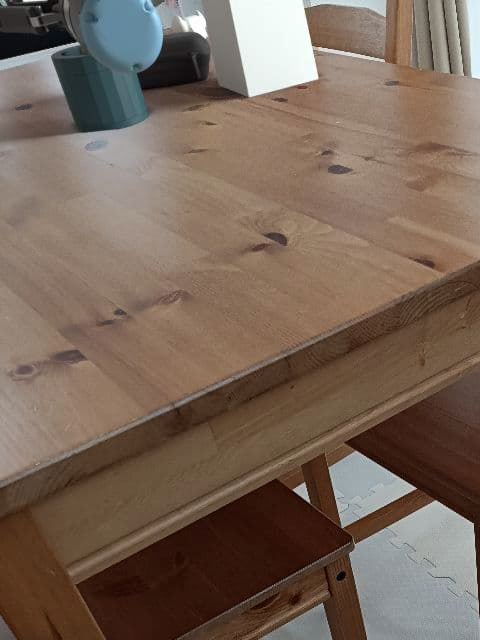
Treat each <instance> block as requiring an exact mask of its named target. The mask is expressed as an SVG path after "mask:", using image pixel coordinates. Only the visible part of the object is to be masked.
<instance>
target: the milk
mask: <svg viewBox="0 0 480 640" xmlns="http://www.w3.org/2000/svg"><path fill="white" fill-rule="evenodd" d="M201 3H202V9H203V14H204V19H205V21H206V28H207V35H208V39H209V45H210V50H211V55H212V59H213V63H214V68H215V74H216V78H217V84H218V86H219V87H222V88H224V89H227V90H229V91H232V92H234V93H237V94H239V95H242V96H245V97H247V98H252V97H256V96H260V95H263V94H268V93H271V92H275V91H279V90H283V89H287V88H291V87H293V86H298V85H303V84H305V83H309V82H313V81H317V80H319V74H318V67H317V64H316V60H315V59H316V58H315V54H314V50H313V44H312V40H311V35H310V30H309V25H308V20H307V16H306V11H305V6H304V1H303V0H201Z"/></svg>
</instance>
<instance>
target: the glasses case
mask: <svg viewBox="0 0 480 640" xmlns="http://www.w3.org/2000/svg"><path fill="white" fill-rule="evenodd" d="M211 55H212V49H211V44H210V42H209V41H208V40H207V38H206V39H205V38H204V37H203V36H202V35H201V34H199V33H196V32H179V33H173V32H167V33H163V41H162V47H161V50H160V53H159V55H158V57H157V58H156V60H155V61H154V63H153V64H152V65H151V66H149V67H148V68H147V69H145V70H143V71H141V72H138V73H137V77H138V80H139V83H140V87H141V90H145V89H146V90H147V89H154V88H160V87H169V86H174V85H183V84H191V83H197V82H202V81H205V80H207V79H208V77H209V74H210V62H211Z"/></svg>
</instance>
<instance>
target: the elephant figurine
mask: <svg viewBox="0 0 480 640" xmlns="http://www.w3.org/2000/svg"><path fill="white" fill-rule="evenodd" d="M170 28H171V31H172V33H179V32H196V33H199V34H201V35H202V36H203V37H204V38H205V39H206V40H207V38H209V35H208V32H207V31H206V28H207V24H206V19H205V16H203V14H202V13H201V12H200V11H199V10H197V9H196V10H194V11H193V14H192V15H187V16H183V17H180V16H179V15H174V16H173V17H172V19H171V23H170Z"/></svg>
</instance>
